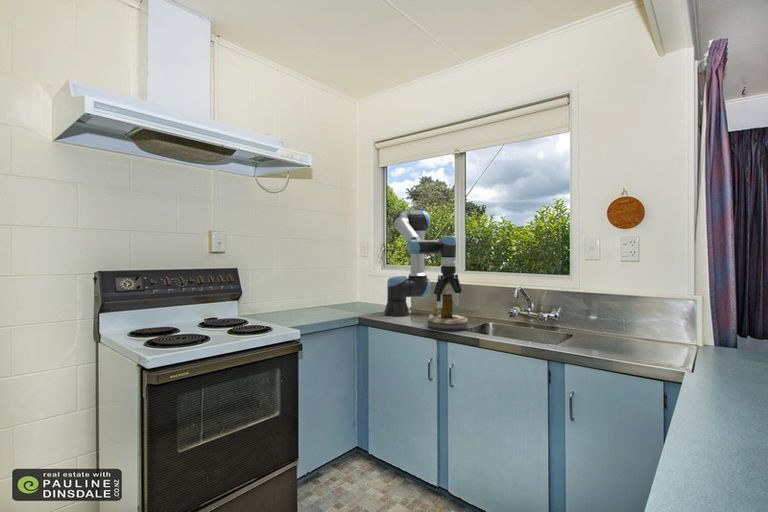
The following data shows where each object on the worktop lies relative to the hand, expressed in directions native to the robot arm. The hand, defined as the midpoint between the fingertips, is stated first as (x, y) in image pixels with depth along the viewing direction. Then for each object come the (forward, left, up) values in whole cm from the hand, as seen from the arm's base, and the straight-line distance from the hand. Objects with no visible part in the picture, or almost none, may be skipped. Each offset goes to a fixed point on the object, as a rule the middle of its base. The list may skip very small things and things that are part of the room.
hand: (447, 306), depth 205 cm
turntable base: (0, 0, -11) cm, 11 cm away
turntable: (0, 0, -7) cm, 7 cm away
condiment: (0, 0, -6) cm, 6 cm away
